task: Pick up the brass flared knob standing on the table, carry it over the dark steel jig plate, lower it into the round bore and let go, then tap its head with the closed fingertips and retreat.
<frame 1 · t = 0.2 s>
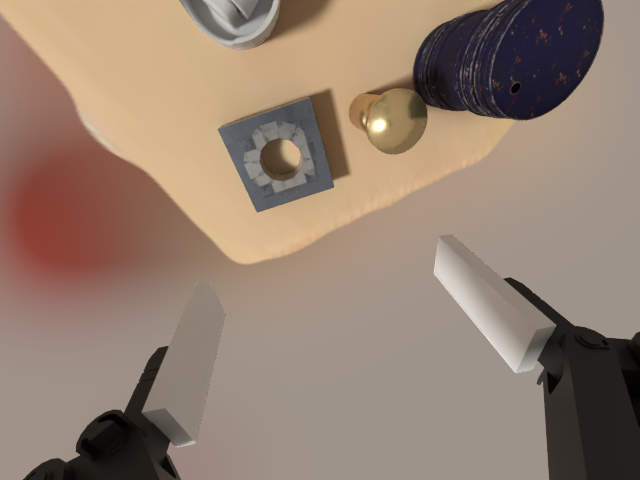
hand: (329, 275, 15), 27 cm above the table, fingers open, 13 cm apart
jig: (280, 155, 37), on the table
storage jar: (446, 66, 35), on the table
brass flared knob: (364, 111, 36), on the table
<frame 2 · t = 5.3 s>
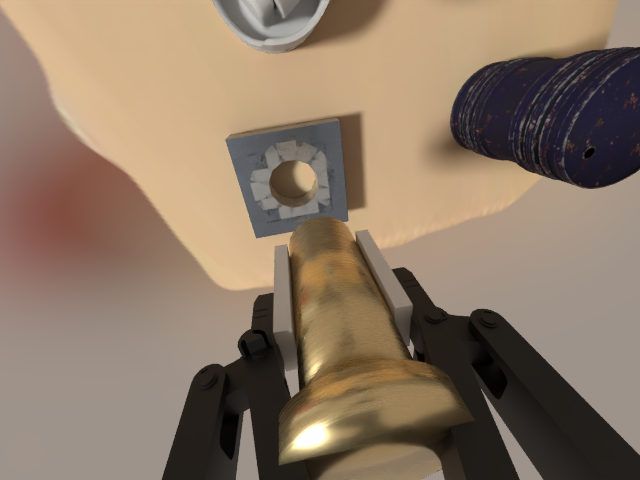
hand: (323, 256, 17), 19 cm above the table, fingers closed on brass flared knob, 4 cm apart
jig: (292, 177, 33), on the table
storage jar: (487, 109, 32), on the table
brass flared knob: (321, 245, 18), point 17 cm above the table, touching gripper
when the fingers open (4 cm above the table, at t = 7.8 s): brass flared knob drops 2 cm, resting in jig.
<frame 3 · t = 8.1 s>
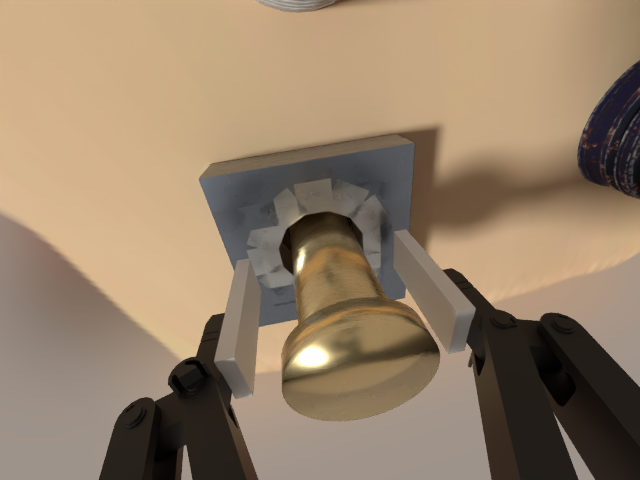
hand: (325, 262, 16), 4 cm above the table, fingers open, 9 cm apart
jig: (316, 228, 20), on the table
brass flared knob: (318, 228, 20), resting in jig
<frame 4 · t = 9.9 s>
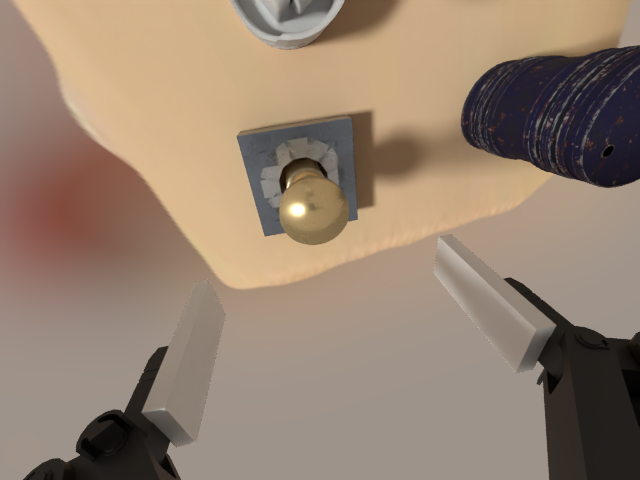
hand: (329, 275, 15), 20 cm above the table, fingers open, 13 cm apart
jig: (302, 175, 32), on the table
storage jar: (498, 108, 32), on the table
brass flared knob: (303, 174, 32), resting in jig
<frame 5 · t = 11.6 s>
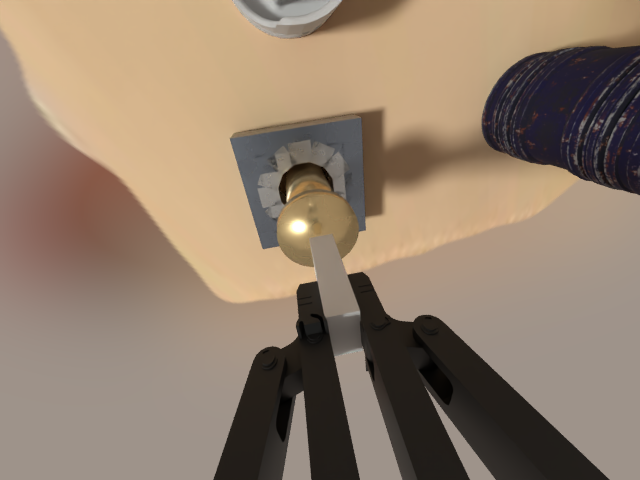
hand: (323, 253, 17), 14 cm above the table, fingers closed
jig: (304, 180, 29), on the table
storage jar: (523, 106, 28), on the table
brass flared knob: (305, 180, 29), resting in jig
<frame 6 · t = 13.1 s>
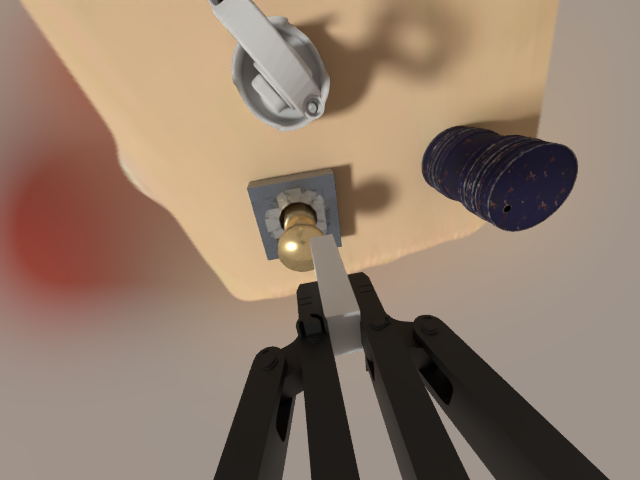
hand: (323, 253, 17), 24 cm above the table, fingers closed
jig: (297, 211, 41), on the table
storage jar: (450, 159, 40), on the table
engine component: (279, 78, 32), on the table
brass flared knob: (298, 211, 41), resting in jig
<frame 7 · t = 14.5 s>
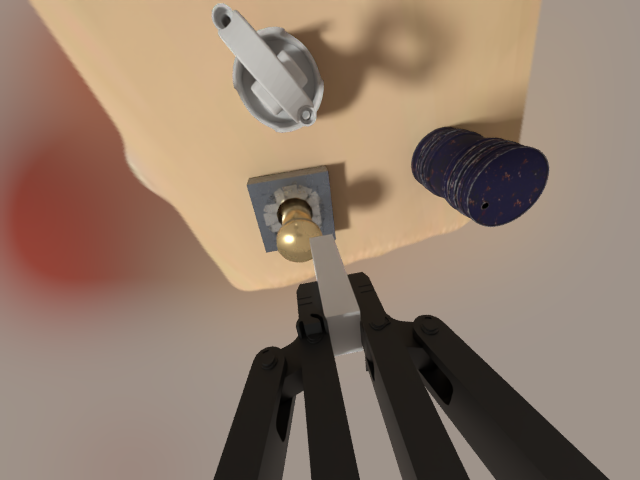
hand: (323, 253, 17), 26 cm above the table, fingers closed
jig: (294, 206, 43), on the table
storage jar: (438, 158, 43), on the table
engine component: (276, 81, 34), on the table
brass flared knob: (294, 206, 43), resting in jig
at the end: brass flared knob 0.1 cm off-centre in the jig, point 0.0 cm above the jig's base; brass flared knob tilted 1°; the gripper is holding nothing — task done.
